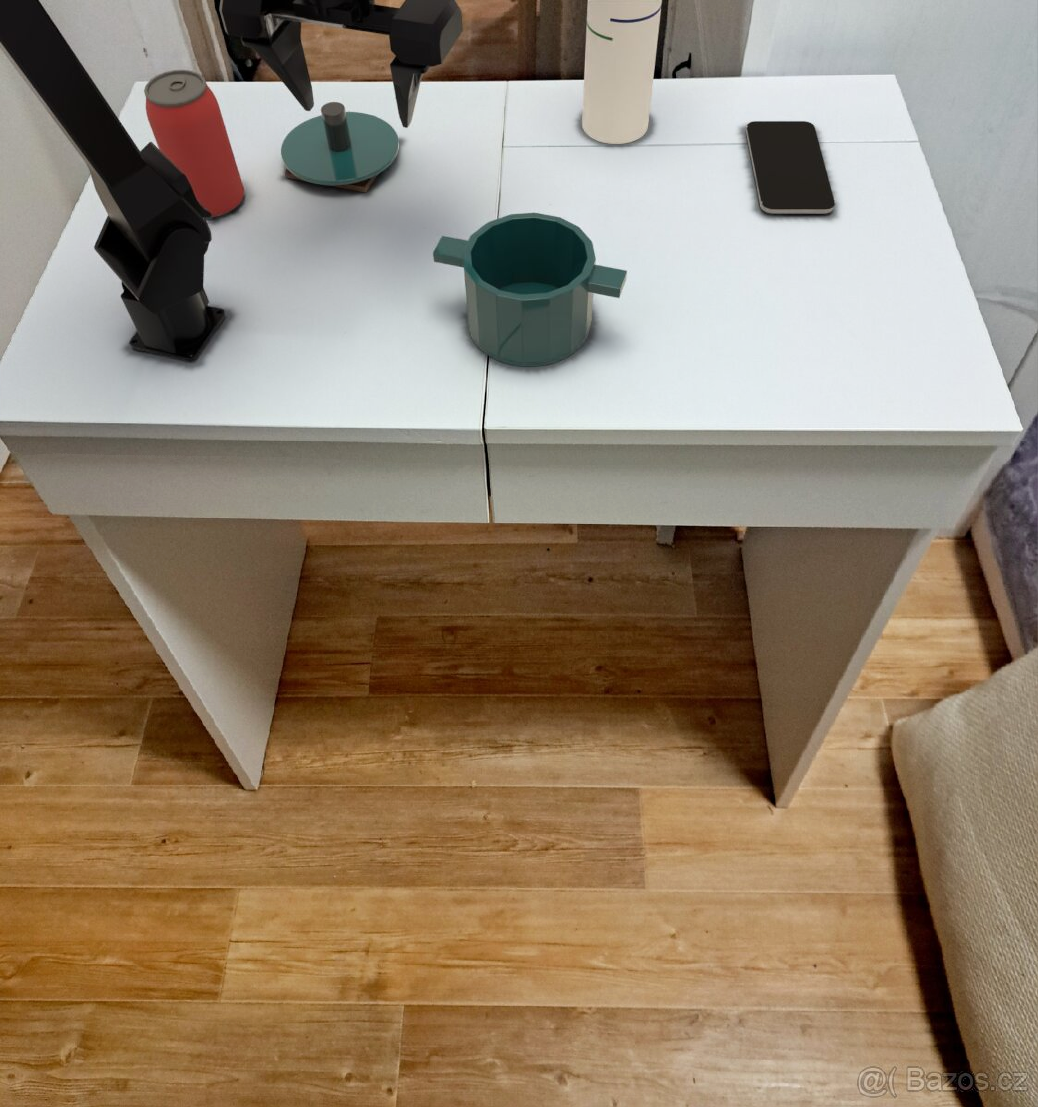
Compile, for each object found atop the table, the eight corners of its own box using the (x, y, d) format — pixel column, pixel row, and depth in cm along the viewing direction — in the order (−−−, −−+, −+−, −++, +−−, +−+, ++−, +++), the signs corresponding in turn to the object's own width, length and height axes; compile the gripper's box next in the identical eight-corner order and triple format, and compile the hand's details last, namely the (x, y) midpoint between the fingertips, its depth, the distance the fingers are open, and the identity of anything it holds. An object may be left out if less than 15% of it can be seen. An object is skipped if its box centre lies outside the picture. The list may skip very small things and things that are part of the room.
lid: (373, 199, 92) (365, 153, 88) (263, 179, 95) (250, 133, 90) (416, 131, 99) (411, 85, 94) (312, 113, 101) (302, 67, 97)
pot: (602, 384, 79) (608, 317, 73) (423, 346, 82) (413, 278, 76) (632, 300, 85) (639, 231, 78) (463, 266, 88) (458, 198, 81)
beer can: (253, 182, 95) (220, 67, 85) (236, 222, 92) (199, 108, 82) (191, 179, 96) (151, 64, 86) (172, 219, 92) (127, 104, 82)
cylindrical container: (643, 147, 98) (673, -129, 77) (577, 140, 98) (588, -135, 77) (651, 109, 101) (682, -163, 80) (587, 102, 102) (601, -169, 81)
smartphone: (813, 120, 98) (837, 208, 90) (812, 126, 99) (835, 214, 91) (745, 120, 99) (762, 208, 90) (743, 126, 99) (760, 214, 91)
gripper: (479, -117, 70) (488, 83, 83) (257, -144, 73) (299, 53, 86) (428, -50, 64) (446, 154, 77) (189, -81, 68) (245, 119, 81)
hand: (358, 116), depth 81 cm, fingers open, 9 cm apart
